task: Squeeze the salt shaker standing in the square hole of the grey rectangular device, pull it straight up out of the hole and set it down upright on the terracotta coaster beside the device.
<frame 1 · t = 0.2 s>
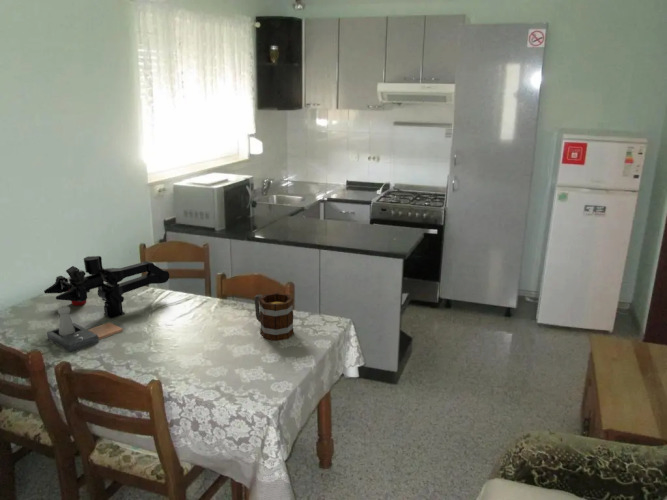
hand: (50, 295, 212), 17 cm above the table, tool horizontal, fingers open, 9 cm apart
grey rectangular device: (72, 340, 211), on the table
terracotta coaster: (104, 331, 219), on the table
mug: (272, 331, 221), on the table
salt shaker: (67, 338, 214), resting in grey rectangular device
plastic cup: (79, 303, 248), on the table
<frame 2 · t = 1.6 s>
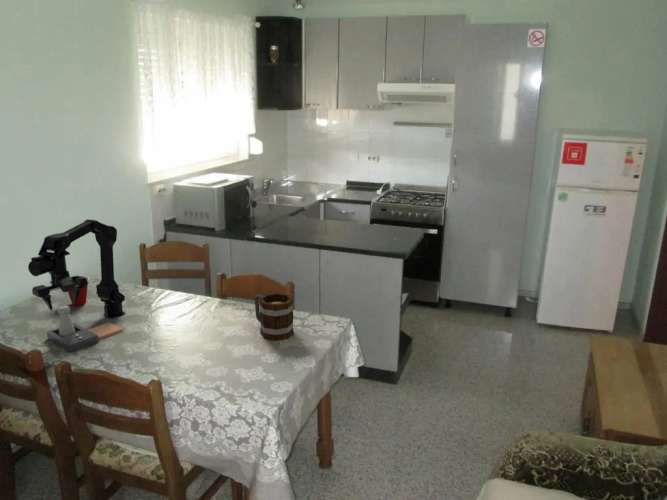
hand: (63, 306, 210), 13 cm above the table, tool pointing down, fingers open, 9 cm apart
nothing on the table moved.
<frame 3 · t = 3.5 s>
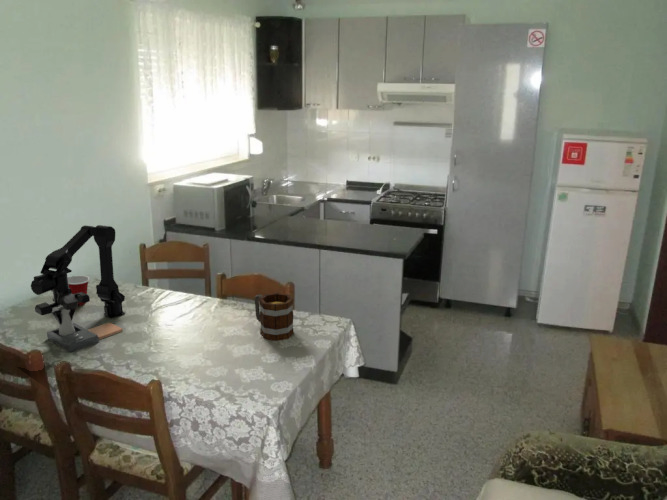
hand: (65, 323, 212), 6 cm above the table, tool pointing down, fingers closed on salt shaker, 3 cm apart
salt shaker: (67, 338, 214), resting in grey rectangular device, touching gripper
everything else where it was.
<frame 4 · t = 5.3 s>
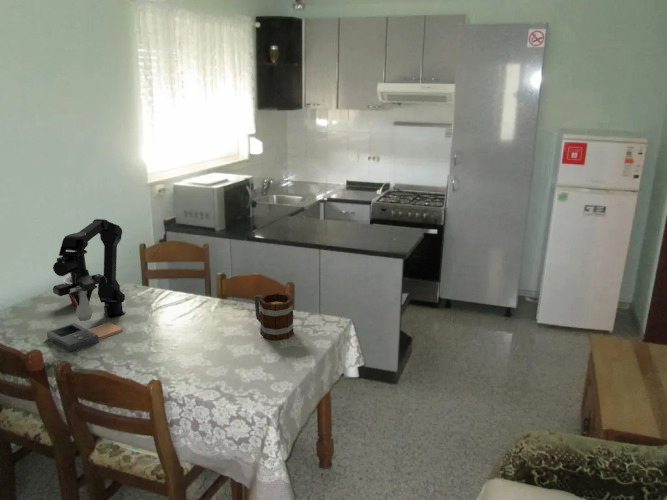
hand: (83, 304, 213), 13 cm above the table, tool pointing down, fingers closed on salt shaker, 3 cm apart
salt shaker: (85, 319, 215), point 6 cm above the table, touching gripper
everything else where it was.
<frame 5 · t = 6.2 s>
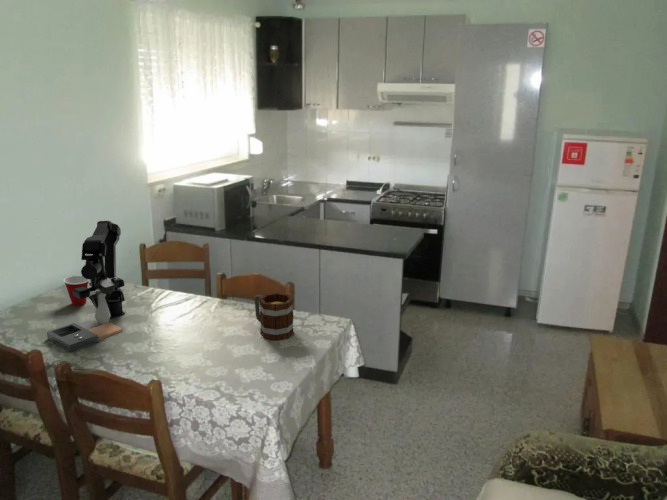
hand: (101, 307, 217), 10 cm above the table, tool pointing down, fingers closed on salt shaker, 3 cm apart
salt shaker: (103, 322, 218), point 4 cm above the table, touching gripper
everything else where it was.
when the fingers open (8 cm above the table, at t = 7.2 s): salt shaker drops 1 cm, resting on terracotta coaster.
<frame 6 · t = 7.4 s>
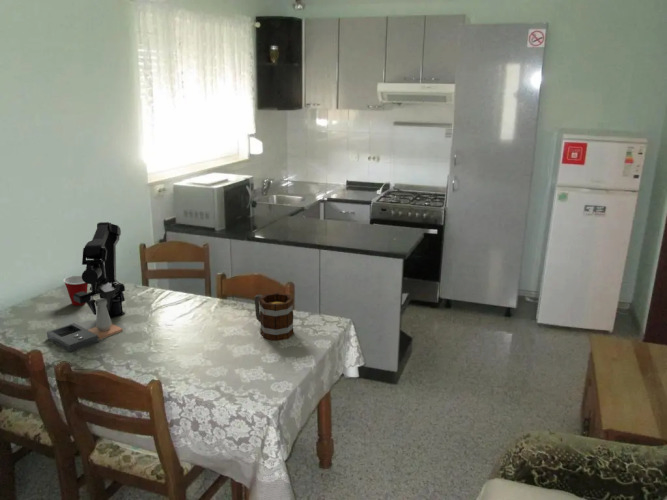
hand: (102, 312, 217), 8 cm above the table, tool pointing down, fingers open, 6 cm apart
salt shaker: (104, 329, 219), point 1 cm above the table, touching terracotta coaster
everything else where it was.
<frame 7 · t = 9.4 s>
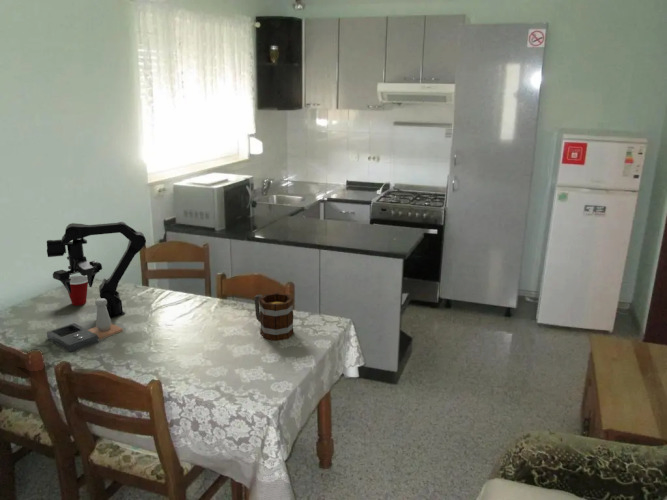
hand: (80, 290, 228), 13 cm above the table, tool pointing down, fingers open, 9 cm apart
nothing on the table moved.
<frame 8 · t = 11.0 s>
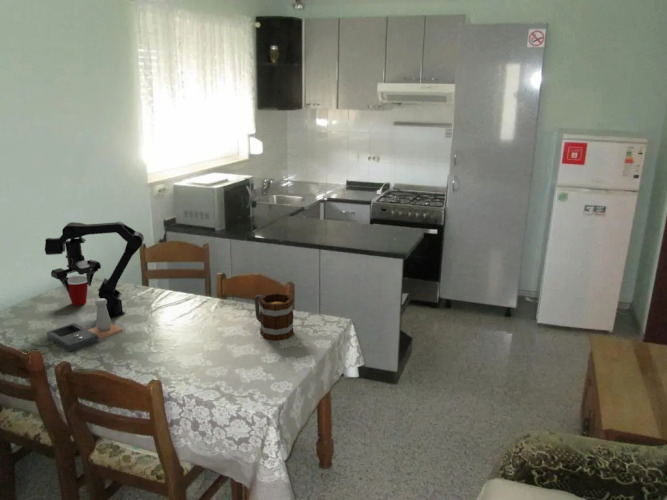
hand: (79, 288, 230), 13 cm above the table, tool pointing down, fingers open, 9 cm apart
nothing on the table moved.
at the end: salt shaker 0.0 cm off-centre on the terracotta coaster, point 0.8 cm above the terracotta coaster's base; salt shaker tilted 0°; the gripper is holding nothing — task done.
